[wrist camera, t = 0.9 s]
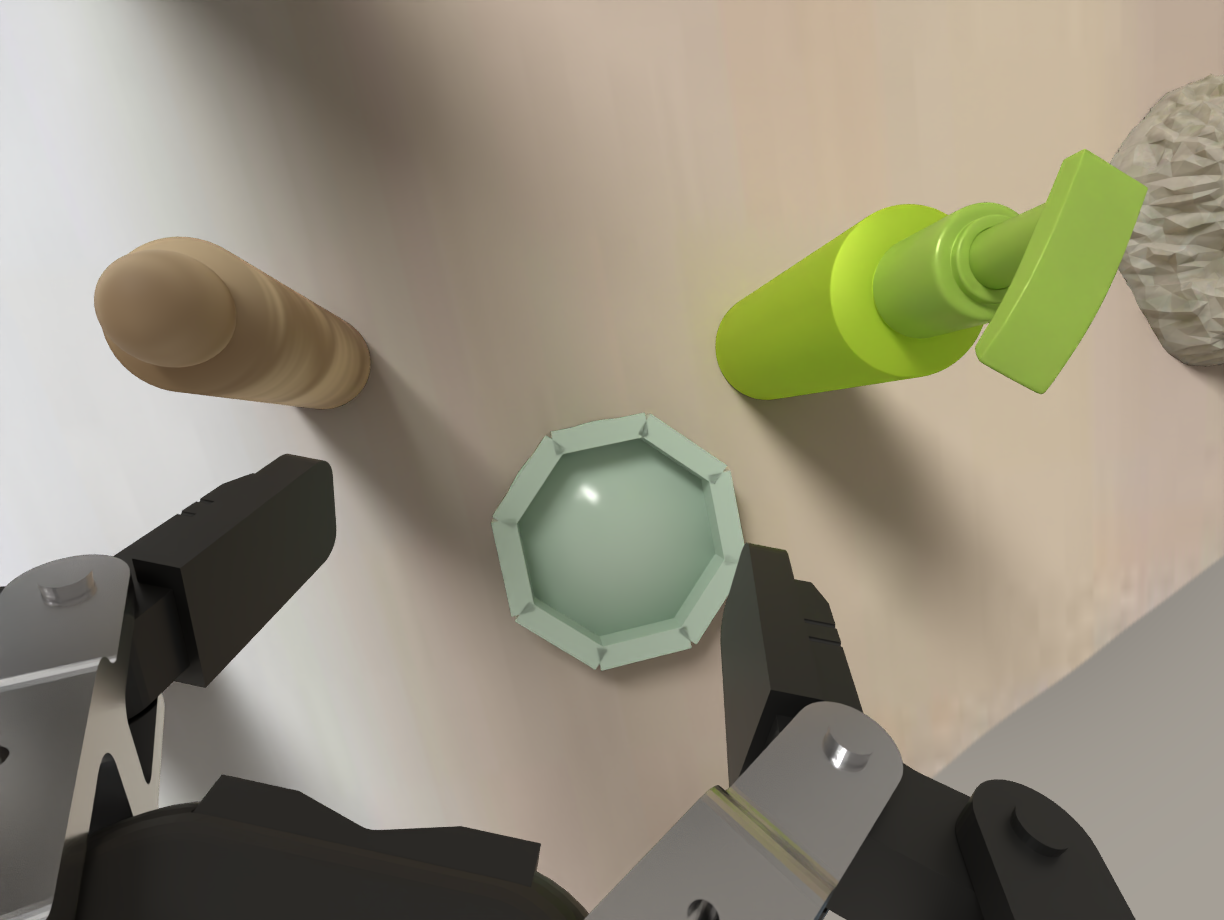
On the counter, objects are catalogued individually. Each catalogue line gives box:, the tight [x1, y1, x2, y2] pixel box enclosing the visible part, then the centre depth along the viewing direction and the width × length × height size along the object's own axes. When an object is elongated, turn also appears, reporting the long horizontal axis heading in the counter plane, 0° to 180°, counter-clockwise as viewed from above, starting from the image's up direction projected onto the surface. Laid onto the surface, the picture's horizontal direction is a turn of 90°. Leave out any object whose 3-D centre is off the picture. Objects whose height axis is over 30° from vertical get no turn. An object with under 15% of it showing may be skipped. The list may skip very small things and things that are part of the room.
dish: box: [491, 413, 744, 671], centre depth 32 cm, size 13×13×2 cm
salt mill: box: [94, 237, 371, 409], centre depth 23 cm, size 5×5×14 cm
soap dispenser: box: [716, 149, 1148, 400], centre depth 24 cm, size 6×7×20 cm
